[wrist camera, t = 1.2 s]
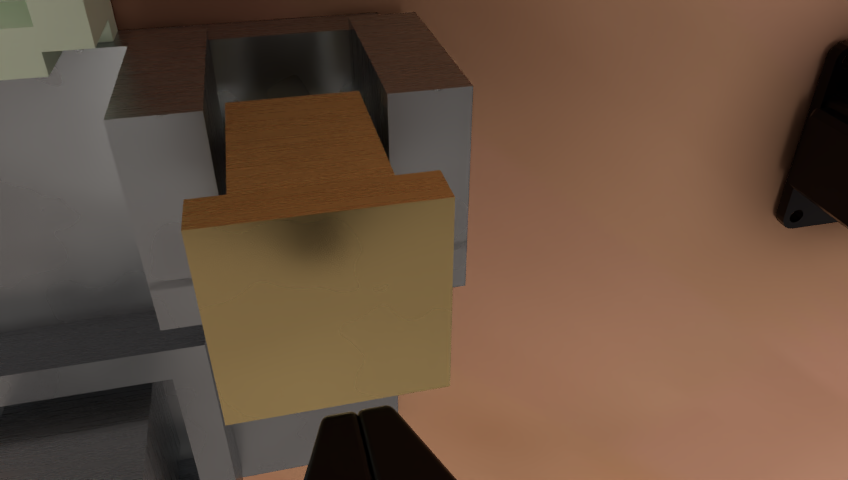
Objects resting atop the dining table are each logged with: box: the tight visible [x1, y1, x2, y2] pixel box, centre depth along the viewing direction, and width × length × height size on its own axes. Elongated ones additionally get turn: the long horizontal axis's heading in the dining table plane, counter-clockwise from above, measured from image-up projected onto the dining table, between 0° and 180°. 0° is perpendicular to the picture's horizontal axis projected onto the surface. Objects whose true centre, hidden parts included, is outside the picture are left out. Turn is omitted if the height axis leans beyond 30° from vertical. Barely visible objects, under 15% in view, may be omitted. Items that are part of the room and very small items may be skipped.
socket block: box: [0, 12, 473, 480], centre depth 18 cm, size 14×15×6 cm
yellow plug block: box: [181, 91, 455, 426], centre depth 13 cm, size 4×4×5 cm
